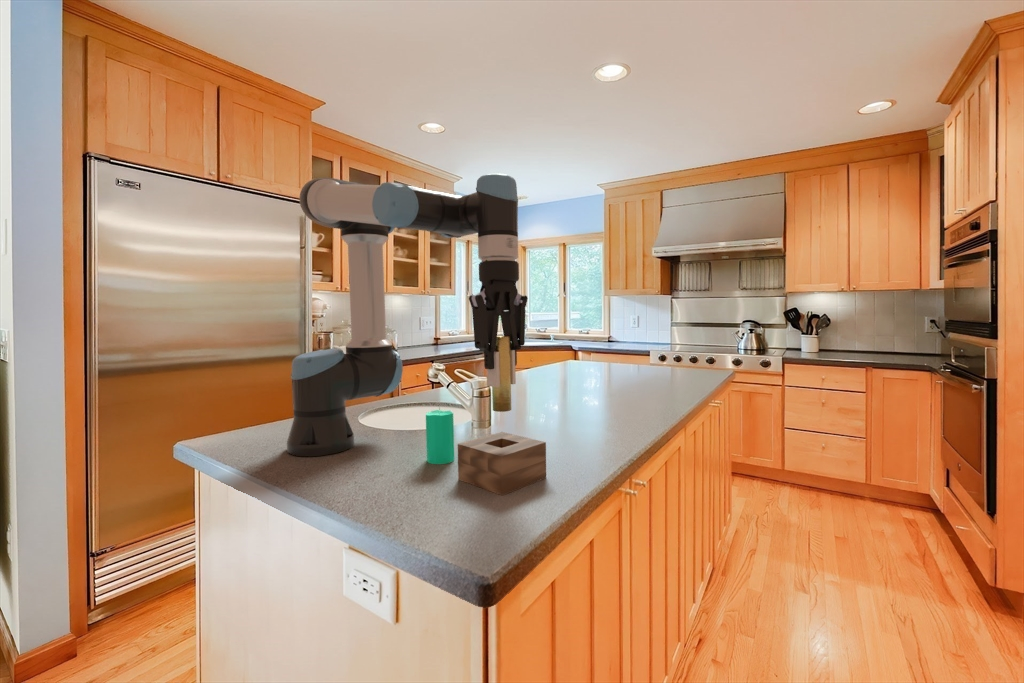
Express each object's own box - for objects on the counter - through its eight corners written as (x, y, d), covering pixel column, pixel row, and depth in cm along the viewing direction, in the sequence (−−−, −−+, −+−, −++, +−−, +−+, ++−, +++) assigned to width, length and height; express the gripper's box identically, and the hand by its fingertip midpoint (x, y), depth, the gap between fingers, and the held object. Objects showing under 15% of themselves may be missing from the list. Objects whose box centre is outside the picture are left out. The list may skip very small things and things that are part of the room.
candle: (449, 464, 102) (448, 408, 102) (422, 463, 104) (421, 408, 103) (458, 456, 108) (456, 403, 107) (432, 455, 109) (431, 402, 109)
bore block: (458, 479, 93) (457, 443, 93) (502, 464, 102) (502, 431, 102) (502, 495, 85) (501, 456, 85) (546, 477, 94) (545, 442, 93)
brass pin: (488, 410, 92) (486, 336, 92) (502, 407, 95) (500, 336, 94) (501, 412, 90) (500, 337, 89) (515, 409, 92) (513, 336, 92)
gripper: (478, 256, 82) (482, 392, 84) (542, 261, 94) (544, 381, 96) (451, 260, 87) (454, 388, 89) (514, 265, 99) (517, 378, 101)
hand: (501, 384), depth 92 cm, fingers closed on brass pin, 3 cm apart
